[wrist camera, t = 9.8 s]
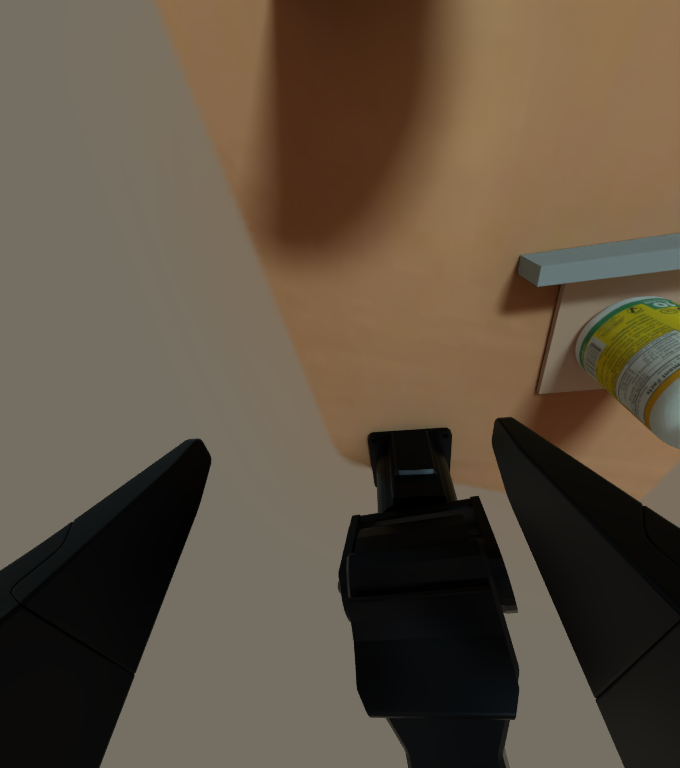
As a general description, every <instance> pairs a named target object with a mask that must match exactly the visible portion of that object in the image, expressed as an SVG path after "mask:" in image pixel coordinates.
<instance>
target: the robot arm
mask: <svg viewBox="0 0 680 768" xmlns="http://www.w3.org/2000/svg"><path fill="white" fill-rule="evenodd" d="M443 434H446V435H443ZM373 438H376V439H373ZM368 442H369V449H370V456H371V463H372V470H373V477H374V483H375V486H376V487H377V496H378V497H377V498H378V513H375V514H369V515H362V516H360V515H354V516H352V519H351V523H350V526H349V529H348V534H347V538H346V543H345V547H344V551H343V555H342V560H341V564H340V568H339V581H338V590H339V592H340V593H341V596H342V602H343V606H344V610H345V613H346V615H347V618H348V619H349V621H350V622H351V625H352V632H353V639H354V651H355V665H356V682H357V683H356V684H357V690H358V693H359V695H360V698H361V700H362V702H363V705H364V707H365V710H366V712H367V714H368V715H369V716H370V717H371V718H386V719H387V721H388V723H389V724H390V726H391V728H392V729H393V731H394V732H395V734H396V736H397V738H398V739H399V741H400V743H401V744H402V746H403V747H404V750H405V752H406V757H407V763H408V768H510V767H509V763H508V760H507V756H506V751H505V748H504V746H505V741H506V737H507V731H508V727H509V722H510V720H515V718H516V712H517V704H518V696H519V686H518V677H519V666H518V662H517V659H516V655H515V652H514V648H513V645H512V641H511V638H510V635H509V631H508V628H507V624H506V621H505V617H504V614H503V613H518V610H517V605H516V601H515V597H514V593H513V590H512V587H511V583H510V580H509V577H508V574H507V570H506V567H505V565H504V561H503V558H502V555H501V553H500V550H499V547H498V544H497V542H496V539H495V537H494V534H493V531H492V529H491V526H490V524H489V521H488V519H487V516H486V514H485V511H484V508H483V506H482V504H481V501H480V498H479V496H473V497H470V499H464V500H457V497H456V493H455V490H454V486H453V483H452V479H451V475H450V461H451V444H452V434H451V430H450V429H448V428H432V429H417V430H402V431H386V432H373V433H370V434H369V436H368ZM492 446H493V450H494V453H495V457H496V460H497V463H498V467H499V470H500V473H501V477H502V480H503V484H504V487H505V490H506V493H507V496H508V499H509V501H510V503H511V506H512V508H513V511H514V513H515V515H516V518H517V520H518V522H519V525H520V527H521V528H522V531H523V533H524V536H525V538H526V541H527V543H528V545H529V548H530V550H531V552H532V555H533V557H534V559H535V561H536V563H537V566H538V568H539V571H540V573H541V575H542V577H543V580H544V582H545V585H546V587H547V589H548V591H549V594H550V596H551V598H552V601H553V603H554V605H555V607H556V610H557V612H558V614H559V617H560V619H561V621H562V624H563V626H564V628H565V631H566V633H567V635H568V638H569V640H570V642H571V644H572V647H573V649H574V651H575V654H576V656H577V658H578V661H579V663H580V665H581V668H582V670H583V672H584V674H585V676H586V679H587V681H588V684H589V686H590V688H591V690H592V693H593V695H594V697H595V698H597V699H596V703H597V705H598V707H599V710H600V712H601V714H602V716H603V719H604V721H605V723H606V725H607V728H608V730H609V732H610V735H611V737H612V740H613V742H614V744H615V746H616V749H617V751H618V753H619V756H620V758H621V760H622V763H623V765H624V767H625V768H680V528H679V527H677V526H676V525H674V524H672V523H671V522H670V521H668V520H666V519H665V518H663V517H662V516H660V515H659V514H657V513H656V512H654V511H653V510H651V509H650V508H648V507H647V506H643V505H642V503H641V502H639V501H638V500H636V499H635V498H633V497H632V496H630V495H628V494H627V493H625V492H624V491H622V490H621V489H619V488H618V487H616V486H615V485H613V484H612V483H610V482H609V481H607V480H606V479H604V478H603V477H601V476H600V475H598V474H597V473H595V472H594V471H592V470H591V469H589V468H588V467H586V466H585V465H583V464H582V463H580V462H579V461H577V460H576V459H574V458H573V457H571V456H570V455H568V454H567V453H565V452H564V451H562V450H561V449H559V448H558V447H556V446H555V445H553V444H552V443H550V442H549V441H547V440H546V439H544V438H543V437H541V436H540V435H538V434H537V433H535V432H534V431H532V430H531V429H529V428H528V427H526V426H525V425H523V424H522V423H520V422H519V421H517V420H515V419H514V418H512V417H504V418H497V419H496V420H495V423H494V429H493V435H492ZM210 465H211V456H210V454H209V452H208V450H207V448H206V446H205V445H204V443H203V441H202V440H201V439H188V440H186V441H184V442H183V443H181V444H180V445H179V446H177V447H176V448H175V449H173V450H172V451H170V452H169V453H167V454H166V455H165V456H163V457H162V458H161V459H159V460H158V461H156V462H155V463H153V464H152V465H151V466H149V467H148V468H147V469H145V470H144V471H142V472H141V473H139V474H138V475H137V476H135V477H134V478H132V479H131V480H130V481H128V482H127V483H125V485H123V486H121V487H120V488H118V489H117V490H116V491H114V492H113V493H111V494H110V495H109V496H107V497H106V498H104V499H103V500H102V501H101V502H99V503H97V504H96V505H95V506H93V507H92V508H90V509H89V510H88V511H86V512H85V513H83V514H82V515H81V516H79V517H78V518H76V519H75V520H74V522H71V523H69V524H68V525H67V526H65V527H64V528H63V529H61V530H60V531H58V532H57V533H55V534H54V535H52V536H51V537H49V538H48V539H47V540H45V541H44V542H42V543H41V544H40V545H38V546H37V547H35V548H34V549H32V550H31V551H29V552H28V553H26V554H25V555H23V556H22V557H20V558H19V559H17V560H16V561H14V562H12V563H11V564H9V565H8V566H7V567H5V568H3V569H2V570H0V768H100V765H101V762H102V760H103V757H104V755H105V752H106V749H107V746H108V744H109V742H110V739H111V736H112V734H113V731H114V728H115V726H116V723H117V720H118V718H119V715H120V713H121V710H122V708H123V705H124V702H125V700H126V697H127V695H128V692H129V689H130V686H131V684H132V681H133V679H134V674H135V673H136V671H137V668H138V665H139V663H140V660H141V657H142V655H143V652H144V650H145V647H146V644H147V641H148V639H149V637H150V634H151V631H152V629H153V626H154V624H155V621H156V618H157V616H158V613H159V611H160V608H161V605H162V603H163V600H164V597H165V595H166V592H167V590H168V587H169V584H170V582H171V579H172V577H173V574H174V571H175V569H176V566H177V564H178V560H179V558H180V555H181V553H182V550H183V548H184V545H185V542H186V540H187V538H188V535H189V532H190V529H191V527H192V524H193V522H194V519H195V517H196V514H197V511H198V508H199V505H200V502H201V498H202V495H203V491H204V488H205V484H206V480H207V477H208V473H209V469H210Z"/></svg>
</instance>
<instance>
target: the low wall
mask: <svg viewBox="0 0 680 768" xmlns="http://www.w3.org/2000/svg"><path fill="white" fill-rule="evenodd" d="M677 269H680V233H677V234H670V235H663V236H655V237H648V238H641V239H634V240H627V241H619V242H612V243H605V244H598V245H590V246H583V247H576V248H569V249H562V250H554V251H547V252H540V253H533V254H525V255H520V261H519V267H518V274H519V275H520V276H522V277H523V278H525V279H526V280H528V281H529V282H531V283H532V284H534V285H535V286H537V287H540V286H548V285H556V284H564V283H572V282H580V281H588V280H596V279H605V278H613V277H621V276H629V275H637V274H645V273H653V272H661V271H669V270H677Z"/></svg>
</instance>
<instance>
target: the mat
mask: <svg viewBox="0 0 680 768" xmlns="http://www.w3.org/2000/svg"><path fill="white" fill-rule="evenodd" d="M645 296H656V297H662V298H665V299H668V300H671V301H673V302H676V303H679V304H680V269H677V270H669V271H661V272H653V273H645V274H637V275H629V276H621V277H613V278H605V279H596V280H588V281H580V282H572V283H564V284H561V288H560V292H559V296H558V300H557V305H556V309H555V313H554V317H553V322H552V326H551V330H550V334H549V339H548V343H547V347H546V351H545V356H544V360H543V364H542V368H541V373H540V377H539V381H538V386H537V390H536V391H537V392H538V394H547V393H560V392H573V391H586V390H599V389H604V388H603V387H602V386H601V385H600V384H599V383H598V382H597V381H595V380H594V379H593V378H592V377H591V376H590V375H588V374H587V373H586V372H585V371H584V370H583V369H582V368H581V366H580V365H579V363H578V361H577V359H576V352H575V349H576V343H577V340H578V337H579V335H580V334H581V332H582V330H583V329H584V327H585V326H586V325H587V324H588V322H589V321H590V320H592V319H593V318H594V317H595V316H596V315H597V314H598V313H600V312H601V311H602V310H604V309H606V308H607V307H609V306H610V305H612V304H615V303H617V302H620V301H622V300H625V299H629V298H634V297H645Z"/></svg>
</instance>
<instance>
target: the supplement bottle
mask: <svg viewBox="0 0 680 768" xmlns="http://www.w3.org/2000/svg"><path fill="white" fill-rule="evenodd" d="M575 352H576V359H577V361H578V363H579V365H580V366H581V368H582V369H583V370H584V371H585V372H586V373H587V374H588V375H590V376H591V377H592V378H593V379H594V380H595V381H597V382H598V383H599V384H600V385H601V386H602V387H603V388H604V389H605V390H606V391H608V392H609V393H610V394H611V395H612V396H613V397H614V398H615V399H617V400H618V401H619V402H620V403H621V404H622V405H623V406H624V407H625V408H626V409H627V410H629V411H630V412H631V413H632V414H633V415H634V416H635V417H636V418H637V419H638V420H639V421H641V422H642V423H643V424H644V425H645V426H646V427H647V428H648V429H649V430H650V431H651V432H653V433H654V434H655V435H656V436H657V437H658V438H659V439H661V440H662V441H663V442H665V443H667V444H669V445H670V446H673V447H675V448H678V449H680V304H679V303H676V302H673V301H671V300H668V299H665V298H662V297H656V296H645V297H634V298H629V299H625V300H622V301H620V302H617V303H615V304H612V305H610V306H609V307H607V308H606V309H604V310H602V311H601V312H600V313H598V314H597V315H596V316H595V317H594V318H593V319H592V320H590V321H589V322H588V324H587V325H586V326H585V327H584V329H583V330H582V332H581V334H580V335H579V337H578V340H577V343H576V349H575Z"/></svg>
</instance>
